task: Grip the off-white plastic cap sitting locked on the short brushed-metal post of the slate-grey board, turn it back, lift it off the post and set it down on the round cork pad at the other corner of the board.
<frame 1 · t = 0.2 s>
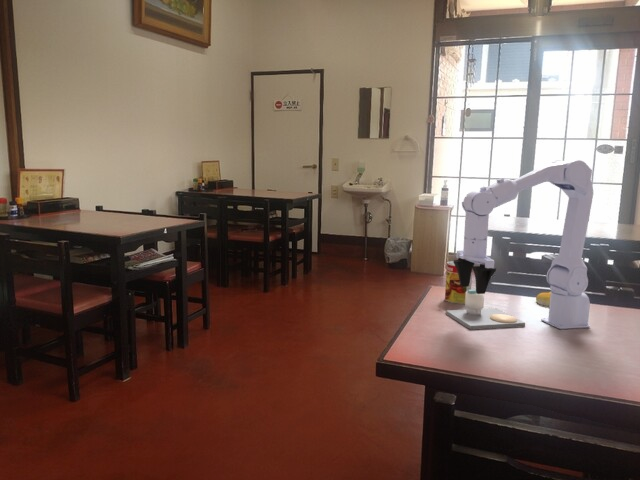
hand: (472, 289, 129), 10 cm above the table, tool pointing down, fingers open, 7 cm apart
canned food: (457, 301, 157), on the table
cap: (474, 306, 139), point 3 cm above the table, touching post board
post board: (483, 319, 137), on the table
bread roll: (551, 304, 155), on the table
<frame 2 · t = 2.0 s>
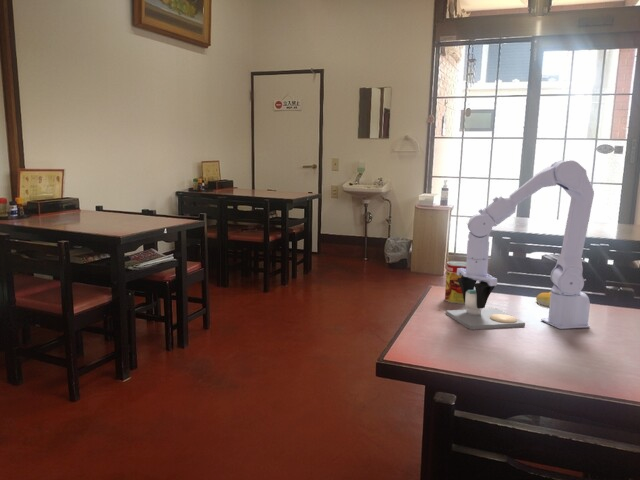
hand: (474, 305, 139), 3 cm above the table, tool pointing down, fingers closed on cap, 5 cm apart
cap: (474, 306, 139), point 3 cm above the table, touching gripper, post board
everything else where it was.
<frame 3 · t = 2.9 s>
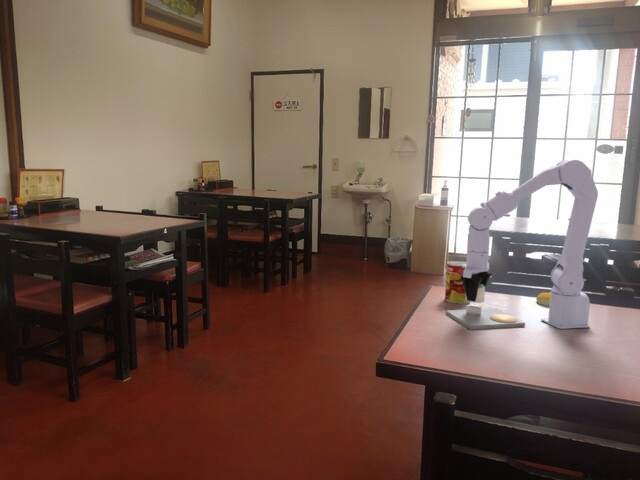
hand: (474, 298, 139), 5 cm above the table, tool pointing down, fingers closed on cap, 5 cm apart
cap: (474, 300, 139), point 5 cm above the table, touching gripper
everything else where it was.
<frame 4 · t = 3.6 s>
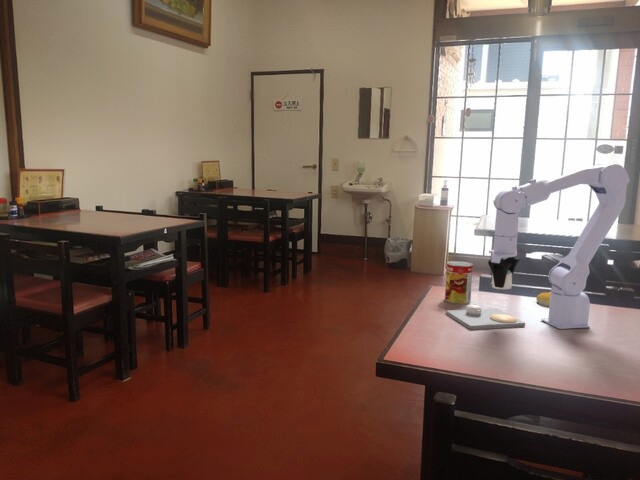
hand: (502, 285, 134), 10 cm above the table, tool pointing down, fingers closed on cap, 5 cm apart
cap: (501, 287, 134), point 10 cm above the table, touching gripper
everything else where it was.
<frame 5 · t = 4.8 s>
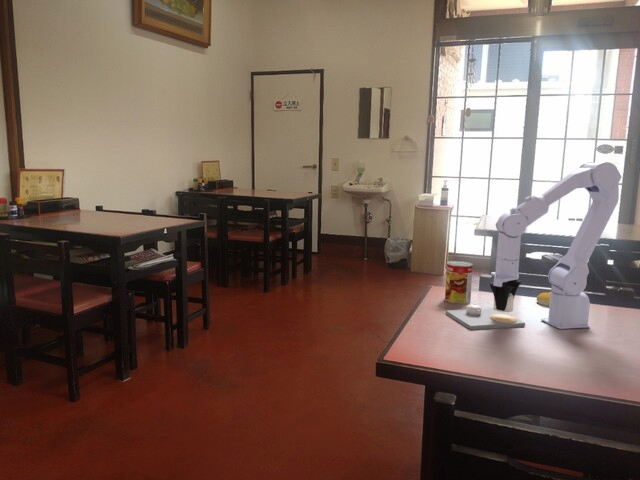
hand: (504, 307, 134), 4 cm above the table, tool pointing down, fingers closed on cap, 5 cm apart
cap: (503, 309, 135), point 4 cm above the table, touching gripper
everything else where it was.
when the fingers open (3 cm above the table, at t = 5.6 s): cap drops 1 cm, resting on post board.
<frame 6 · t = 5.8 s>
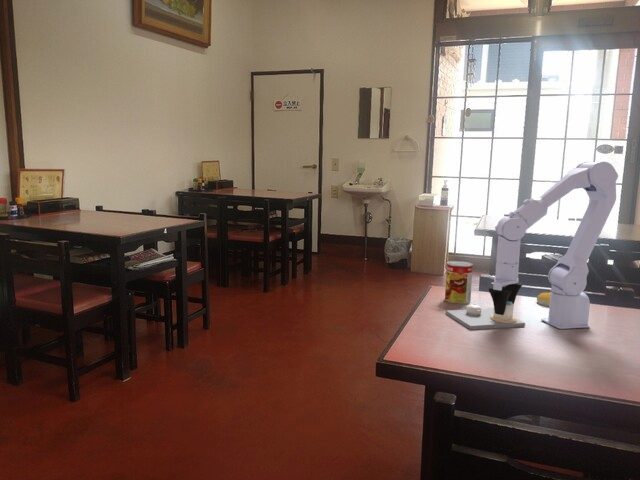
hand: (503, 311, 135), 3 cm above the table, tool pointing down, fingers open, 7 cm apart
cap: (502, 317, 135), point 1 cm above the table, touching post board
everything else where it was.
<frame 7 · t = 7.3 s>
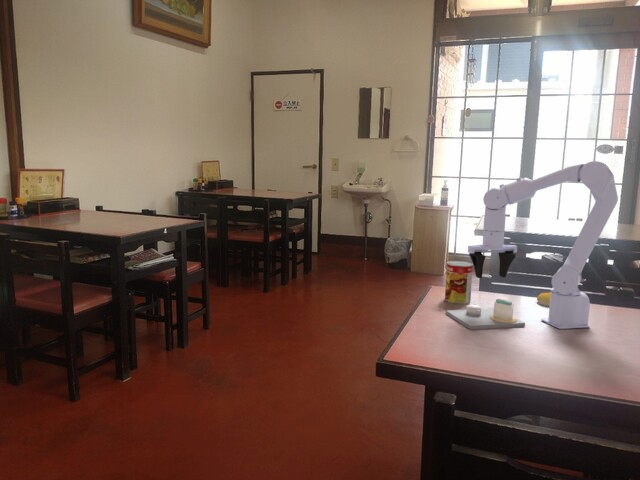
hand: (490, 277, 144), 10 cm above the table, tool pointing down, fingers open, 7 cm apart
nothing on the table moved.
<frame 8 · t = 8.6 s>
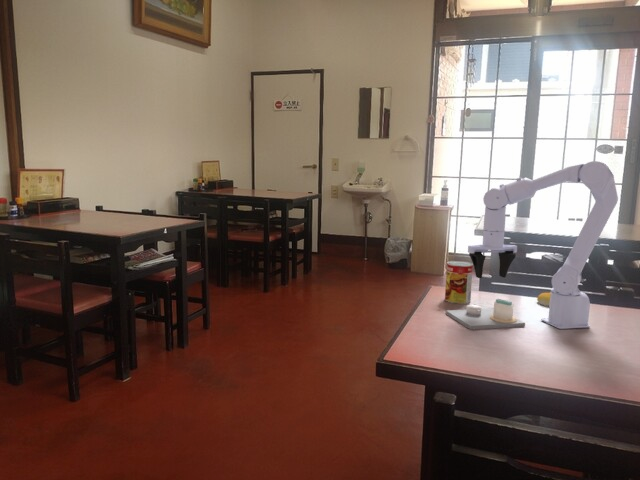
hand: (490, 277, 144), 10 cm above the table, tool pointing down, fingers open, 7 cm apart
nothing on the table moved.
at the end: cap 0.1 cm from the target spot, point 1.3 cm above the table; cap tilted 0°; the gripper is holding nothing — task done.
